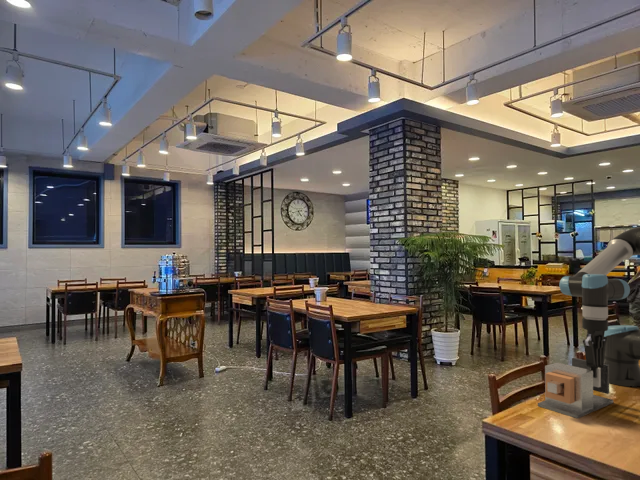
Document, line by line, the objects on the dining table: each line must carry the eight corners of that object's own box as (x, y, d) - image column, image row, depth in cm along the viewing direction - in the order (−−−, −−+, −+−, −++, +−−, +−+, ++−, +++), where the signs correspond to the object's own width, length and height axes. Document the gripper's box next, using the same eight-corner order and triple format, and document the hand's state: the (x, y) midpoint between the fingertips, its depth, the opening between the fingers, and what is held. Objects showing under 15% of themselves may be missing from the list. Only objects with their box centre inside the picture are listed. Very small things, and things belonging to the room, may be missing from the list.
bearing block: (574, 392, 161) (574, 357, 162) (613, 402, 151) (612, 364, 151) (537, 405, 147) (537, 367, 147) (577, 418, 136) (577, 376, 136)
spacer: (550, 395, 147) (550, 372, 147) (574, 402, 140) (574, 377, 140) (545, 396, 145) (545, 373, 145) (570, 403, 139) (569, 379, 139)
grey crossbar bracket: (573, 384, 160) (573, 357, 160) (609, 393, 150) (609, 365, 150) (534, 397, 145) (534, 368, 145) (571, 409, 135) (570, 377, 135)
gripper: (592, 315, 155) (592, 380, 154) (574, 318, 148) (574, 386, 147) (615, 318, 149) (615, 385, 148) (598, 321, 141) (598, 392, 141)
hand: (595, 386), depth 148 cm, fingers closed
